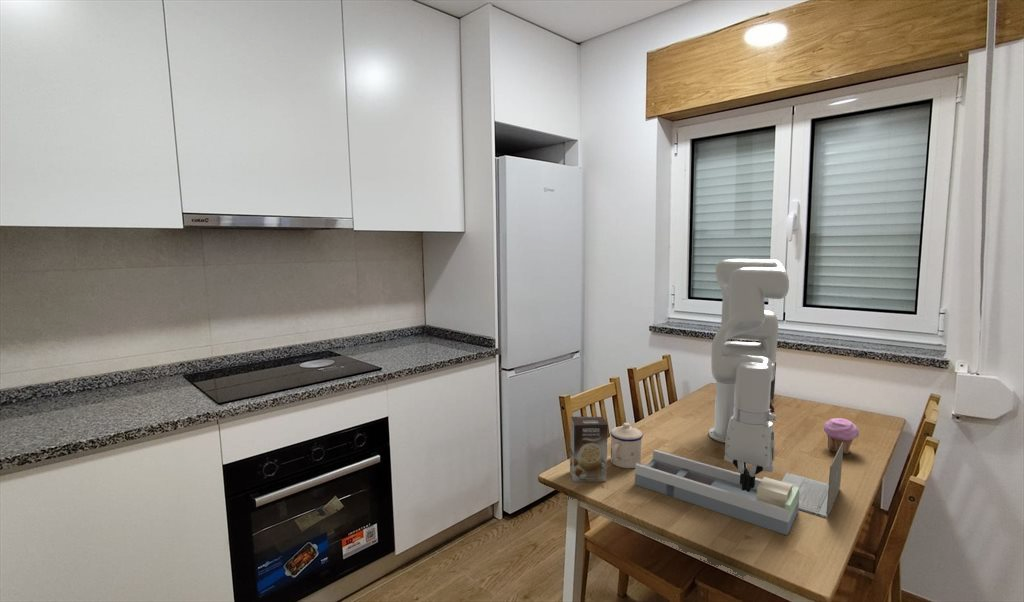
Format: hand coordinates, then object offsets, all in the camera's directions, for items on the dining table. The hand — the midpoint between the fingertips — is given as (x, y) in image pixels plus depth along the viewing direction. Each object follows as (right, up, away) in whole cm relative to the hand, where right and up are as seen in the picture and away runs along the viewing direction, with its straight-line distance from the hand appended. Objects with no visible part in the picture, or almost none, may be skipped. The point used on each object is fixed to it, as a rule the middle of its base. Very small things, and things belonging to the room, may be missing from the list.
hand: (746, 488), depth 119 cm
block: (+4, -3, -4) cm, 6 cm away
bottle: (+46, +6, +82) cm, 94 cm away
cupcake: (+43, -1, +32) cm, 54 cm away
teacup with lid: (-24, -2, +25) cm, 34 cm away
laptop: (+18, -5, +7) cm, 20 cm away
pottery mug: (+36, +4, +67) cm, 77 cm away
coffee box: (-36, -3, +17) cm, 40 cm away
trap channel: (-6, -4, +6) cm, 9 cm away
